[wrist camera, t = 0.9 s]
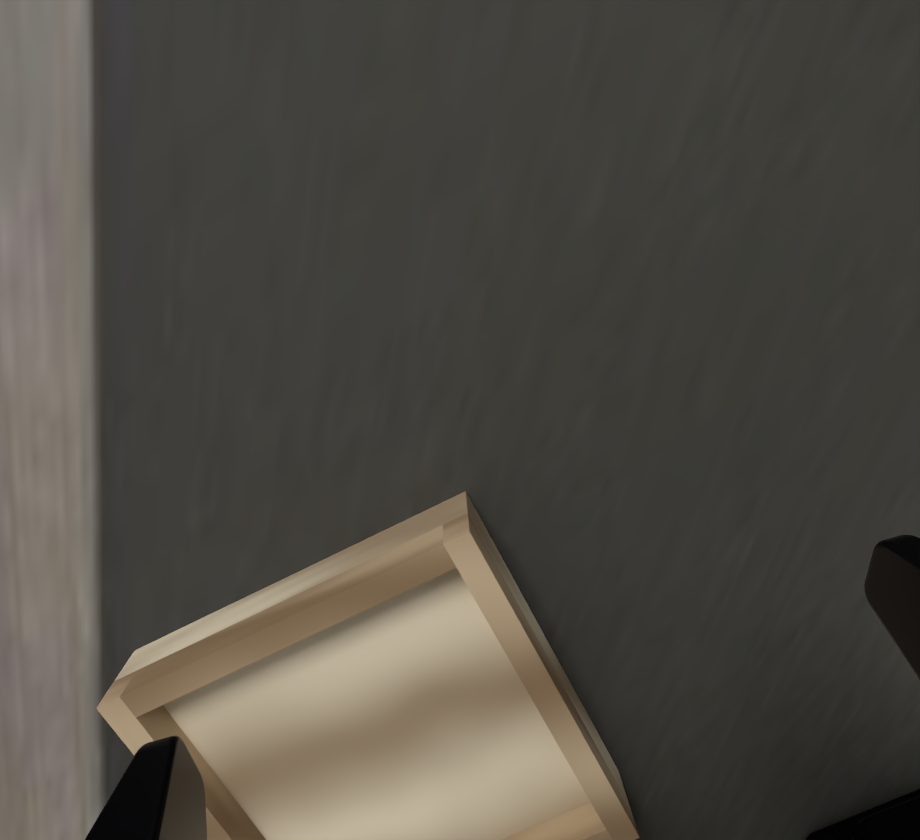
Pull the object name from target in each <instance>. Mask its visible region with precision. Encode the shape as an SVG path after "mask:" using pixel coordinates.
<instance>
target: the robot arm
mask: <svg viewBox="0 0 920 840" xmlns="http://www.w3.org/2000/svg"><path fill="white" fill-rule="evenodd" d="M864 587H865V594H866V597H867V599H868V602H869V603H870V605H871V607H872V608H873V610H874V611H875V613H876V614H877V616H878V617H879V619H880V620H881V622H882V623H883V625H884V626H885V628H886V629H887V631H888V632H889V634H890V635H891V637H892V638H893V640H894V641H895V643H896V645H897V646H898V648H899V649H900V651H901V652H902V654H903V655H904V657H905V658H906V660H907V661H908V663H909V664H910V666H911V667H912V669H913V670H914V672H915V673H916V675H917V676H918V678H919V679H920V538H918V537H915V536H912V535H901V536H897V537H893V538H890V539H886V540H883V541H880V542H879V543H878V544H877V545H876V546H875V548H874V551H873V554H872V558H871V562H870V566H869V569H868V573H867V577H866V580H865V585H864ZM85 840H207V821H206V798H205V788H204V783H203V779H202V776H201V773H200V771H199V770H198V768H197V766H196V764H195V762H194V760H193V758H192V756H191V754H190V753H189V751H188V749H187V747H186V745H185V743H184V741H183V740H182V739H181V738H180V737H178V736H170V737H167V738H163V739H160V740H156V741H152V742H149V743H146V744H144V745H143V746H142V747H140V748H139V750H138V751H137V752H136V754H135V755H134V757H133V759H132V761H131V762H130V764H129V766H128V767H127V769H126V771H125V772H124V774H123V776H122V778H121V779H120V781H119V783H118V784H117V786H116V788H115V789H114V791H113V793H112V795H111V796H110V798H109V800H108V801H107V803H106V805H105V806H104V808H103V810H102V812H101V813H100V815H99V817H98V818H97V820H96V822H95V823H94V825H93V827H92V829H91V830H90V832H89V834H88V835H87V837H86V839H85ZM806 840H920V790H917V791H915V792H912V793H910V794H907V795H905V796H902V797H900V798H897V799H895V800H892V801H890V802H887V803H885V804H883V805H880V806H878V807H875V808H873V809H870V810H868V811H865V812H863V813H860V814H858V815H855V816H853V817H850V818H848V819H845V820H843V821H841V822H838V823H836V824H833V825H831V826H828V827H826V828H823V829H821V830H818V831H816V832H814V833H812V834H810V835H809V837H808V838H807V839H806Z"/></svg>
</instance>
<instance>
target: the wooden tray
mask: <svg viewBox="0 0 920 840" xmlns="http://www.w3.org/2000/svg"><path fill="white" fill-rule="evenodd" d="M96 709H97V710H98V711H99V712H100V714H101V715H102V716H103V717H104V719H105V720H106V721H107V722H108V723H109V725H110V726H111V727H112V728H113V730H114V731H115V732H116V733H117V735H118V736H119V737H120V738H121V740H122V741H123V742H124V743H125V745H126V746H127V747H128V748H129V750H130V751H131V752H132V753H133V755H135V754H136V752H137V751H138V750H139V748H140V747H142V746H143V745H144V744H146V743H149V742H152V741H156V740H160V739H163V738H167V737H170V736H178V737H180V738H181V739H182V740H183V741H184V743H185V745H186V747H187V749H188V751H189V753H190V754H191V756H192V758H193V760H194V762H195V764H196V766H197V768H198V770H199V771H200V773H201V776H202V779H203V783H204V788H205V798H206V821H207V840H635V839H638V838H640V837H639V834H638V831H637V828H636V824H635V821H634V818H633V815H632V812H631V809H630V805H629V802H628V799H627V796H626V793H625V790H624V787H623V783H622V780H621V777H620V774H619V771H618V769H617V767H616V765H615V764H614V762H613V760H612V758H611V756H610V754H609V753H608V751H607V749H606V747H605V745H604V743H603V742H602V740H601V738H600V736H599V734H598V732H597V731H596V729H595V727H594V725H593V723H592V721H591V720H590V718H589V716H588V714H587V712H586V710H585V709H584V707H583V705H582V703H581V701H580V700H579V698H578V696H577V694H576V692H575V690H574V689H573V687H572V685H571V683H570V681H569V679H568V678H567V676H566V674H565V672H564V670H563V668H562V667H561V665H560V663H559V661H558V659H557V657H556V656H555V654H554V652H553V650H552V648H551V647H550V645H549V643H548V641H547V639H546V637H545V636H544V634H543V632H542V630H541V628H540V626H539V625H538V623H537V621H536V619H535V617H534V615H533V614H532V612H531V610H530V608H529V606H528V604H527V603H526V601H525V599H524V597H523V595H522V593H521V592H520V590H519V588H518V586H517V584H516V583H515V581H514V579H513V577H512V575H511V573H510V572H509V570H508V568H507V566H506V564H505V562H504V561H503V559H502V557H501V555H500V553H499V551H498V550H497V548H496V546H495V544H494V542H493V540H492V539H491V537H490V535H489V533H488V531H487V529H486V528H485V526H484V524H483V522H482V520H481V519H480V517H479V515H478V513H477V511H476V509H475V508H474V506H473V504H472V502H471V500H470V498H469V497H468V495H467V493H466V491H465V492H463V493H461V494H459V495H457V496H455V497H453V498H451V499H448V500H446V501H444V502H442V503H440V504H438V505H436V506H434V507H432V508H430V509H428V510H426V511H424V512H422V513H419V514H417V515H415V516H413V517H411V518H409V519H407V520H405V521H403V522H401V523H399V524H397V525H395V526H392V527H390V528H388V529H386V530H384V531H382V532H380V533H378V534H376V535H374V536H372V537H370V538H368V539H365V540H363V541H361V542H359V543H357V544H355V545H353V546H351V547H349V548H347V549H345V550H343V551H341V552H338V553H336V554H334V555H332V556H330V557H328V558H326V559H324V560H322V561H320V562H318V563H316V564H314V565H311V566H309V567H307V568H305V569H303V570H301V571H299V572H297V573H295V574H293V575H291V576H289V577H287V578H284V579H282V580H280V581H278V582H276V583H274V584H272V585H270V586H268V587H266V588H264V589H262V590H260V591H257V592H255V593H253V594H251V595H249V596H247V597H245V598H243V599H241V600H239V601H237V602H235V603H233V604H230V605H228V606H226V607H224V608H222V609H220V610H218V611H216V612H214V613H212V614H210V615H208V616H206V617H203V618H201V619H199V620H197V621H195V622H193V623H191V624H189V625H187V626H185V627H183V628H181V629H179V630H176V631H174V632H172V633H170V634H168V635H166V636H164V637H162V638H160V639H158V640H156V641H154V642H152V643H149V644H147V645H145V646H143V647H141V648H139V649H137V650H135V651H134V652H133V654H132V655H131V657H130V658H129V660H128V661H127V663H126V664H125V666H124V667H123V669H122V670H121V672H120V673H119V675H118V676H117V678H116V679H115V681H114V682H113V684H112V685H111V687H110V688H109V690H108V691H107V693H106V694H105V696H104V697H103V699H102V700H101V702H100V703H99V705H98V706H97V708H96Z"/></svg>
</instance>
